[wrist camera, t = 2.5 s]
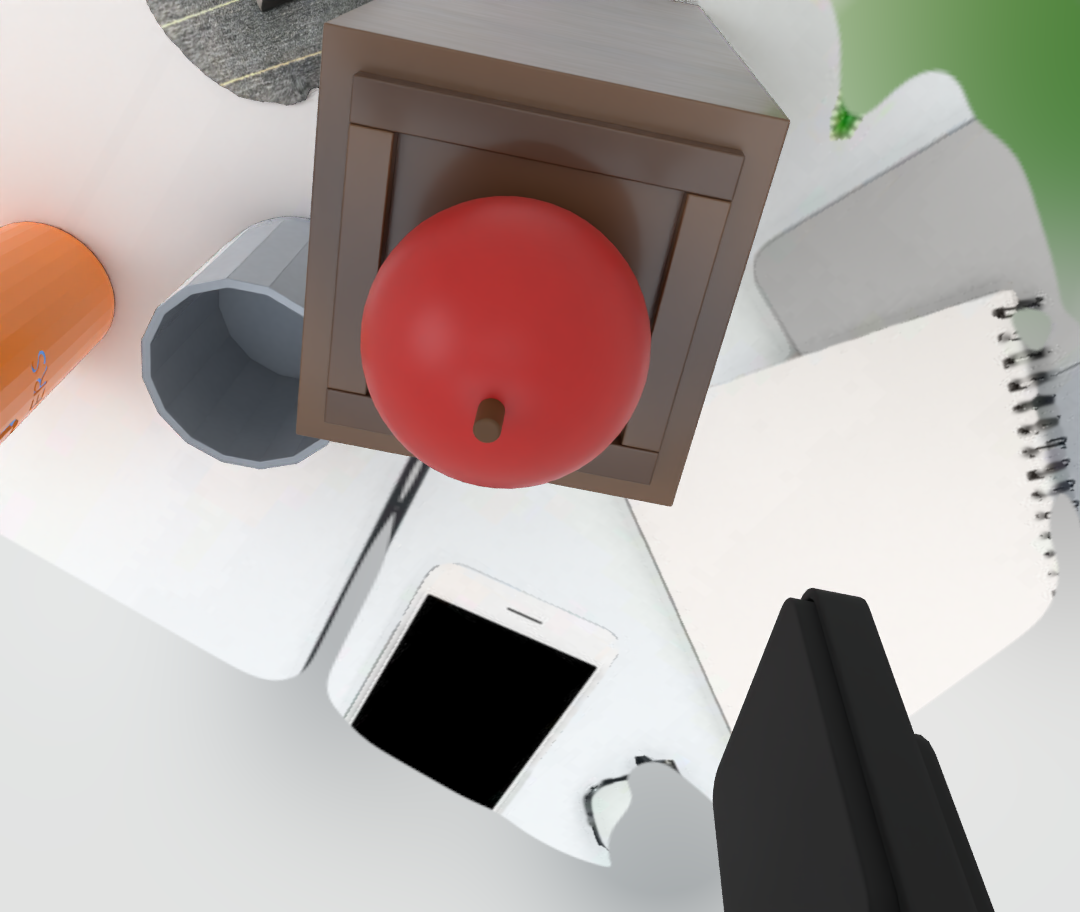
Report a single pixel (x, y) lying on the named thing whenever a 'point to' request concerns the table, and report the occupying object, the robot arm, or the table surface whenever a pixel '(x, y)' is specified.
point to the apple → (505, 342)
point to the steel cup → (236, 349)
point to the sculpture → (253, 42)
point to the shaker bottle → (45, 314)
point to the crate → (540, 183)
